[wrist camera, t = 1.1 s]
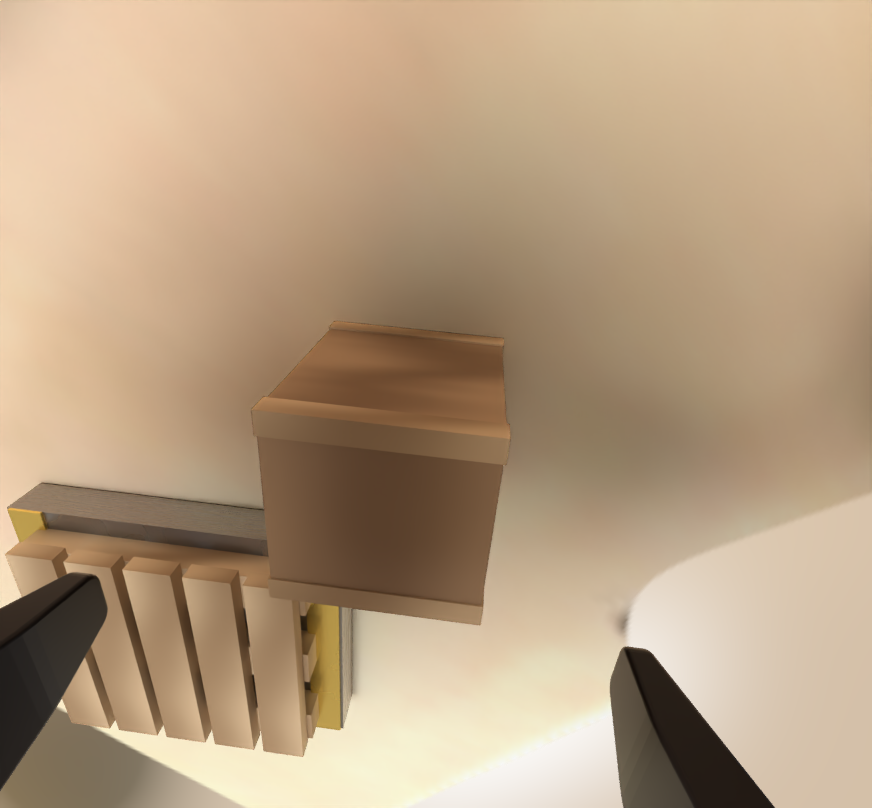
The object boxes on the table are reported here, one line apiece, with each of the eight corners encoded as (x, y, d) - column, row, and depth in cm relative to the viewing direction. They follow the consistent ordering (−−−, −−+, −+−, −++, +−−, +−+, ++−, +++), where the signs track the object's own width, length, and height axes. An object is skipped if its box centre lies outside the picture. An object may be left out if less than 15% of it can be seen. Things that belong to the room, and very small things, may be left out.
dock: (352, 521, 19) (340, 551, 17) (351, 695, 23) (342, 730, 22) (40, 483, 19) (4, 509, 18) (98, 659, 24) (73, 691, 22)
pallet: (313, 557, 18) (297, 592, 16) (319, 717, 22) (307, 757, 20) (37, 522, 18) (-1, 553, 17) (94, 685, 22) (67, 722, 21)
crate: (503, 337, 15) (510, 439, 10) (483, 479, 17) (480, 625, 12) (335, 320, 15) (251, 409, 10) (337, 462, 18) (269, 597, 12)
